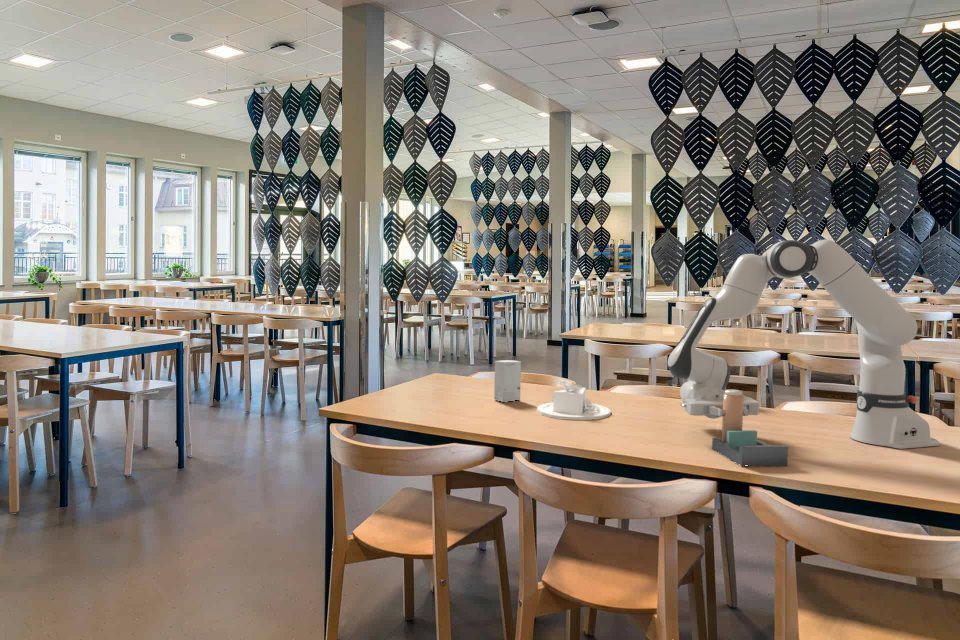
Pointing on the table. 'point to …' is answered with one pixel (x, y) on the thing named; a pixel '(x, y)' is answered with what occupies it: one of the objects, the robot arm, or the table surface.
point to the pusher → (741, 438)
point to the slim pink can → (732, 412)
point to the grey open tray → (753, 453)
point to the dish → (572, 405)
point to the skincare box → (507, 380)
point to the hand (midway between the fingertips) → (734, 413)
